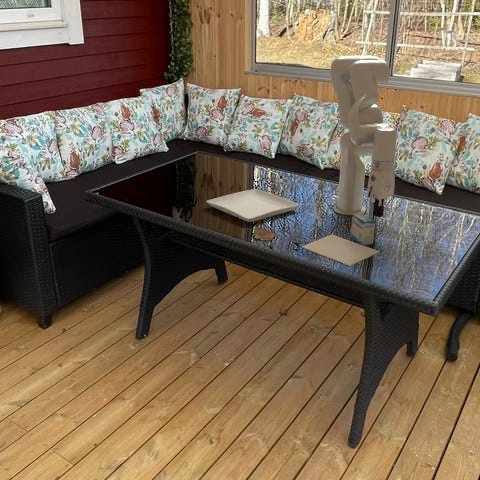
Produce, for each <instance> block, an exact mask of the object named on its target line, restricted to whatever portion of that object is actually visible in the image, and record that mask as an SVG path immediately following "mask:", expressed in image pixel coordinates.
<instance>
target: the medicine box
mask: <svg viewBox="0 0 480 480" xmlns="http://www.w3.org/2000/svg"><path fill="white" fill-rule="evenodd" d="M375 227H376V220H374V219H373V218H371V217H369V216H368V215H366V214H365V213H363V214H355V215H352V217H351V228H350V239H352V240H353V241H354V242H357V244H360V245H363V246H367V245H368V246H369V245H373V244H374V237H375V230H376V229H375Z"/></svg>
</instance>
